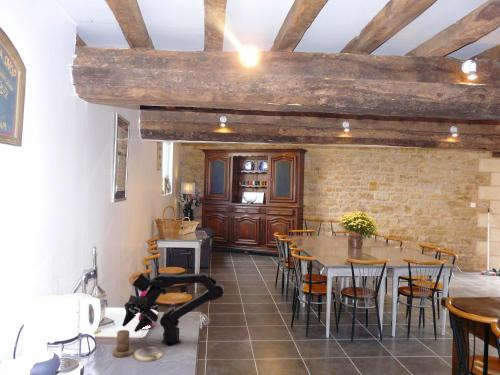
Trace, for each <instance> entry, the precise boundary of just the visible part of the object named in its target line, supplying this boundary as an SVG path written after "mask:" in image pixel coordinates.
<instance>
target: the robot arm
mask: <svg viewBox="0 0 500 375" xmlns="http://www.w3.org/2000/svg"><path fill="white" fill-rule="evenodd" d="M184 284H185V285H189V284H202V285H203V286H204V288H206V290H205V291H204V292H203V293H201V294H200V295H198V296H196V297H194V298H192V299H190V300H189V301H187V302H186V303H184V304H182V305H180V306H178V307H176V308H174V306H171V307H169V308H168V309H165V310H164V312H163V314H162V316H161V317H160V319H159V315H158V314H157V313H156V312H155V311H154V310H152V307H156V306H157V304H156V302H157V300H158V299H159V298H160V296H166V294H167V292H166V288H169V287H172V286H176V285H184ZM132 287H133V288H135V289H137V290H138V291H140V292H141V293H142V292H144V291H145V292H146V290H147V289H148V291H147V293H146V294H145V296H143V295H142V296H136V295H133V294H132V295H131V294H130V295H129V300H128V301H126V303H125V304H124V305H123V307H124V310H125V316H124V318H123V322H122V324H121V326H123V327H125V326H127V325H129V323H130V322H131V321H132V320H133V319H135V317H137V315H138V313H139V314H140V313H141V320H140V321H139V320H138V323H137V324H136V326H135V328H134V330H133V331H134V333H137V332H139V331H140V330H143V329H142V328H143V327H145V326H147V325H149V324H151V323H153V324H154V323H157V321H158V319H159V323H160V324H159V325H160V326H161V327H163V333H162V340H161V342H162V343H164V344H165V345H166V346H169V347H170V346H173V345H177V344H180V343H182V340H180V327H179V324H180V320H179V319H181V317H184V316H185V315H186V314H189V313H190V312H192V311H193V310H195V309H197V308H198V307H200V306H202V305H204V304H205V303H207V302H211V301H212V302H213V301H215V300H218V299H220V298H221V297H222V296H223V294H224V290H225V287H224V285H223V283H221V282H220V281H219V282H218V281H217V280H216V279H214V278H213V277H212V276H209V275H208V274H207V273H206V272H200V273H199V272H198V273H187V274H186V273H185V274H176V273H175V274H174V273H171V272H161V273H160V274H158V276H155V277H153V278H149V277H148V276H146V275H145V274H144V273H142V272H141V273H140V274H139V275H138V277H137V278H136V279H135V280H134V281H133V283H132ZM150 309H151V310H150Z"/></svg>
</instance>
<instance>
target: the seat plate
mask: <svg viewBox="0 0 500 375" xmlns="http://www.w3.org/2000/svg"><path fill="white" fill-rule="evenodd" d="M162 355H163V356H164V350H163V349H162V348H160V347H157V346H146V347H141V348H138V349H137V350H135V351H134V353H133V357H134V359H135V360H136V361H138V362H139V361H140V362H153V361H157V360H160V359H161V358H163V356H162ZM160 357H161V358H160Z"/></svg>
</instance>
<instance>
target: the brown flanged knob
mask: <svg viewBox="0 0 500 375" xmlns="http://www.w3.org/2000/svg"><path fill="white" fill-rule="evenodd" d="M133 352H134V349H133V347H132V346H130V330H127V329H122V330H119V331H117V332H116V347H115V348H114V349H113V350H112V355H113V356H114V357H115V358H125V357H129V356H131V355H132V354H134V353H133Z"/></svg>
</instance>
